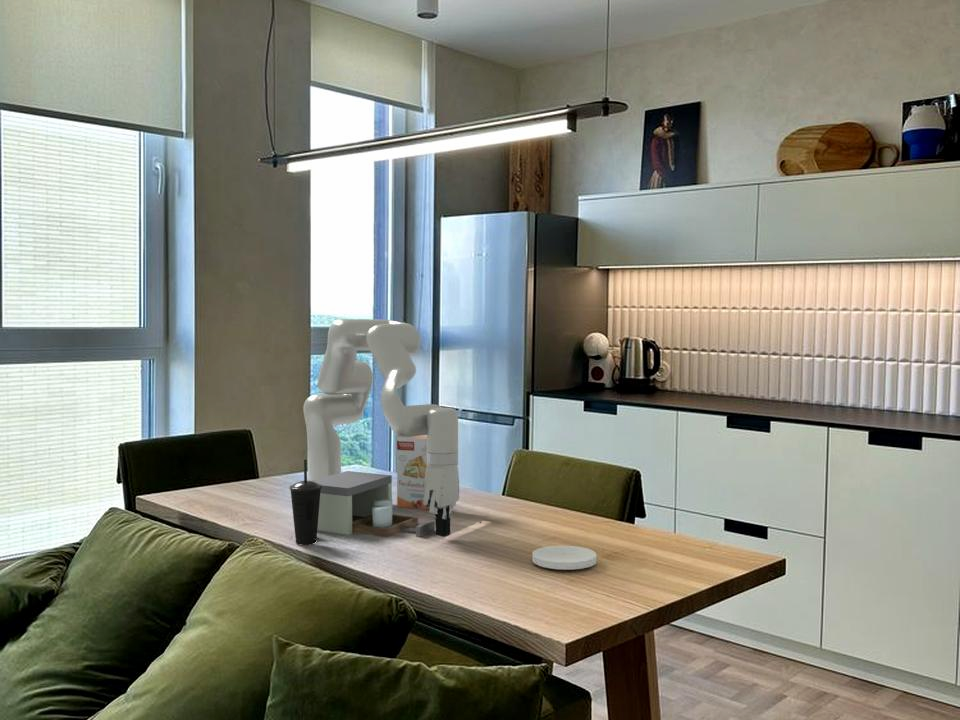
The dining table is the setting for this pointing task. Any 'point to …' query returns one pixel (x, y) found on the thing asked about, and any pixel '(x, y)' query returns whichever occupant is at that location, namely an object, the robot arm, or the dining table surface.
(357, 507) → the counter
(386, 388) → the robot arm
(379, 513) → the pale blue cylinder
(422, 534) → the tray
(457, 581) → the dining table surface
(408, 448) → the cracker box
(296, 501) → the drinking cup
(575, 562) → the plastic lid
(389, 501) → the pale tall cylinder
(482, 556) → the dining table surface
